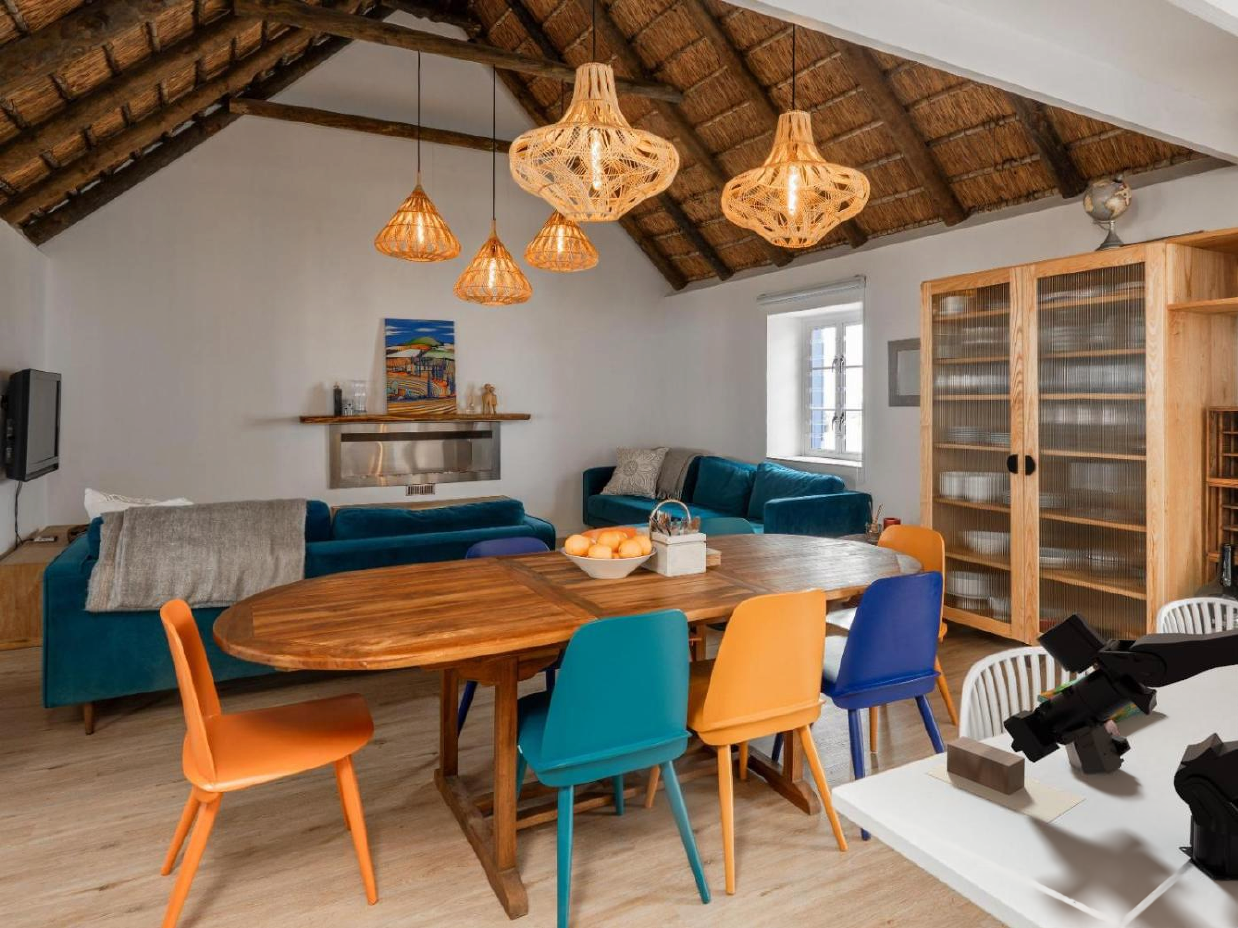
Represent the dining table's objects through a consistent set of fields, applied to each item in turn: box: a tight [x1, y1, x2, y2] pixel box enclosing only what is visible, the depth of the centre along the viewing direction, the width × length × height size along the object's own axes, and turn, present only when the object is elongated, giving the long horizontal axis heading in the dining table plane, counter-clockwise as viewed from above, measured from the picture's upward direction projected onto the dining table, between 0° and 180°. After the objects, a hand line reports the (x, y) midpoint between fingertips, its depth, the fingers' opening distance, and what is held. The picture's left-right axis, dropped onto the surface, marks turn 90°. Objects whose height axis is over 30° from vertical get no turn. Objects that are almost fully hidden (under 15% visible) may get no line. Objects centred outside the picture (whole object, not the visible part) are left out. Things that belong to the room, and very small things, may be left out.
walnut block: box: [946, 736, 1026, 796], centre depth 122 cm, size 4×4×10 cm
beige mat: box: [925, 761, 1086, 824], centre depth 120 cm, size 19×11×1 cm, turn 35°
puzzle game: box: [1036, 675, 1142, 724], centre depth 150 cm, size 12×5×20 cm
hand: (1014, 748), depth 118 cm, fingers closed
